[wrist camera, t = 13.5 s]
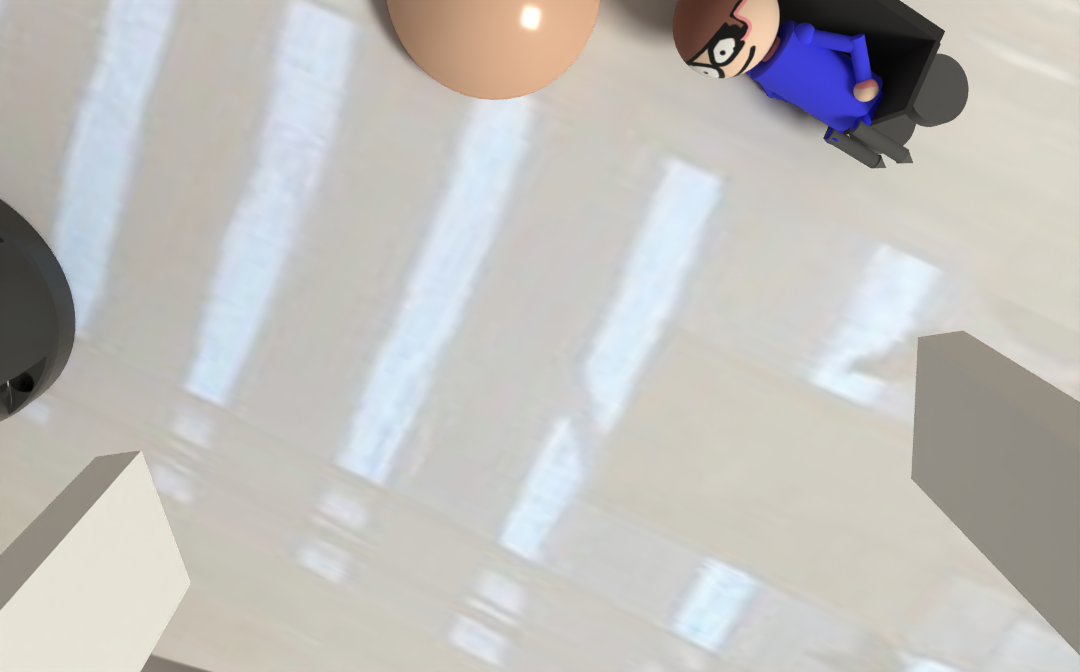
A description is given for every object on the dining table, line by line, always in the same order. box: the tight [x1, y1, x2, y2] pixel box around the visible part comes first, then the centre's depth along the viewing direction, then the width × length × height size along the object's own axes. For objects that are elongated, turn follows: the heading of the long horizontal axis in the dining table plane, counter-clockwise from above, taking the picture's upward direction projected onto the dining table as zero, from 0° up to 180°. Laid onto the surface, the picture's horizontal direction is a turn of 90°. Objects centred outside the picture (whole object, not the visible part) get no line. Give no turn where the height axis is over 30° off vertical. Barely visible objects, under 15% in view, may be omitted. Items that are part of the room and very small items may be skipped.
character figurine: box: [673, 0, 968, 168], centre depth 38 cm, size 8×7×15 cm
